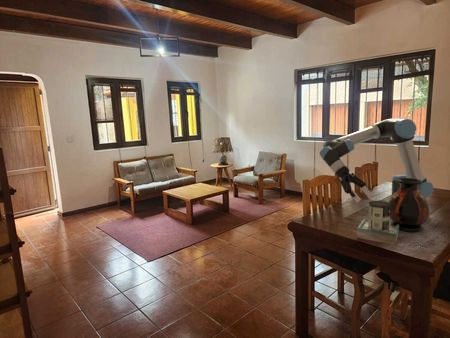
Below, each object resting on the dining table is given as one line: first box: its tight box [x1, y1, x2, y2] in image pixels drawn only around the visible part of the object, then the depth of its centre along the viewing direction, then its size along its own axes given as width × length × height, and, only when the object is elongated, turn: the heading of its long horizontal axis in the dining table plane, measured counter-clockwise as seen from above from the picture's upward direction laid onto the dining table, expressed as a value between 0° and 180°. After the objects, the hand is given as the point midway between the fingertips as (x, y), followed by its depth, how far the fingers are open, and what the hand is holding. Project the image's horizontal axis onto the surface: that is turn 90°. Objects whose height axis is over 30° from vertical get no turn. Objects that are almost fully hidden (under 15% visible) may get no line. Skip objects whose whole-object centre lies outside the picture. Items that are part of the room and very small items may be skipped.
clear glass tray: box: [356, 219, 400, 245], centre depth 161 cm, size 16×18×6 cm
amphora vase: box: [387, 178, 431, 233], centre depth 169 cm, size 22×22×28 cm
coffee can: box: [367, 200, 390, 232], centre depth 161 cm, size 10×10×14 cm
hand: (365, 198), depth 165 cm, fingers open, 13 cm apart
